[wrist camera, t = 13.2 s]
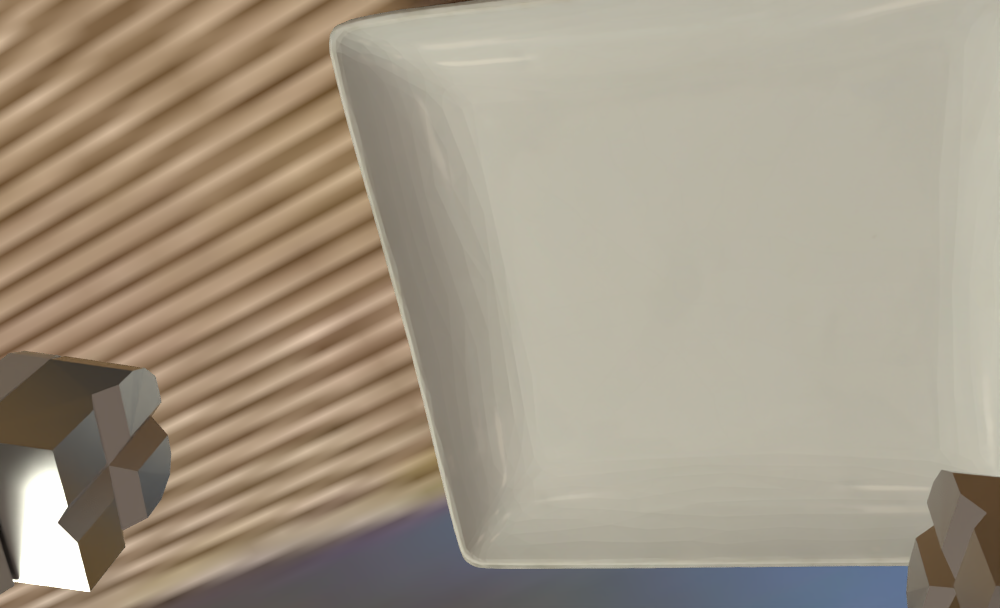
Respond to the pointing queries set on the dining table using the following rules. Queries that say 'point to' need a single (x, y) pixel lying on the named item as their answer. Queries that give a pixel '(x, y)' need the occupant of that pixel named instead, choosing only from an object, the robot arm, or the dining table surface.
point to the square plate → (690, 268)
